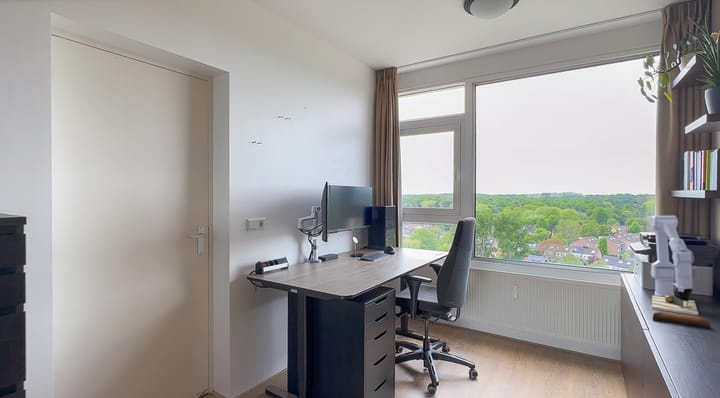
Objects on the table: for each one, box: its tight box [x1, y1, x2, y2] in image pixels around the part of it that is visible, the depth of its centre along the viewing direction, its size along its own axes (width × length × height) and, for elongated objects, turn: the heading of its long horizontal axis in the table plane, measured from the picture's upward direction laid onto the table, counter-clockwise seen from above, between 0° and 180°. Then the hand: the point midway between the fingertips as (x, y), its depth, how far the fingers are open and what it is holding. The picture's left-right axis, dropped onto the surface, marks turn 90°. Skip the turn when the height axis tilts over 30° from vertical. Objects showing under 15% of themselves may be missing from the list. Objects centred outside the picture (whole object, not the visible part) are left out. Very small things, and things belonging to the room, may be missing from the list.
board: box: [651, 295, 699, 316], centre depth 167 cm, size 22×16×1 cm
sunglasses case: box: [652, 311, 711, 330], centre depth 147 cm, size 18×7×7 cm
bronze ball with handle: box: [665, 295, 688, 307], centre depth 166 cm, size 11×4×3 cm, turn 176°
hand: (684, 303), depth 164 cm, fingers closed
